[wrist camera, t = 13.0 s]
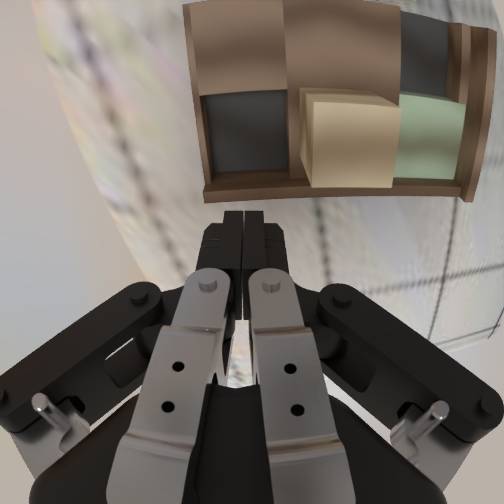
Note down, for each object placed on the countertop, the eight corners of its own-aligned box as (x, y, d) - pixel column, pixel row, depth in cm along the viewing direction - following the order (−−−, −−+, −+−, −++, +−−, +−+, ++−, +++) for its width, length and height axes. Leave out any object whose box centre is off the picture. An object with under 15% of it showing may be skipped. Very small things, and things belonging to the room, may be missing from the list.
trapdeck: (188, 8, 18) (174, 0, 15) (463, 27, 17) (496, 31, 13) (210, 182, 28) (202, 209, 24) (447, 178, 27) (472, 202, 23)
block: (299, 87, 21) (313, 102, 16) (369, 91, 21) (402, 108, 16) (299, 154, 24) (311, 187, 19) (364, 155, 24) (391, 188, 19)
